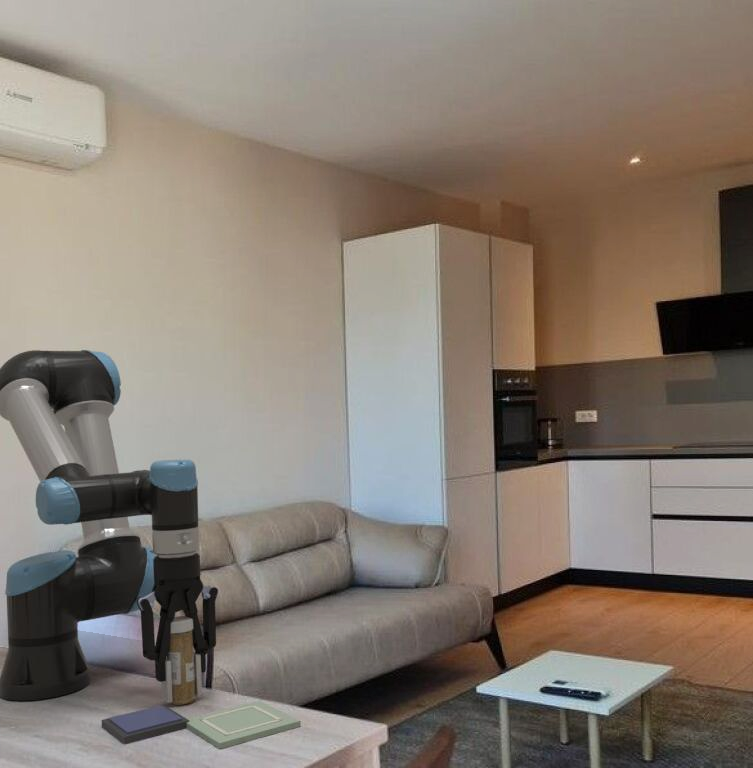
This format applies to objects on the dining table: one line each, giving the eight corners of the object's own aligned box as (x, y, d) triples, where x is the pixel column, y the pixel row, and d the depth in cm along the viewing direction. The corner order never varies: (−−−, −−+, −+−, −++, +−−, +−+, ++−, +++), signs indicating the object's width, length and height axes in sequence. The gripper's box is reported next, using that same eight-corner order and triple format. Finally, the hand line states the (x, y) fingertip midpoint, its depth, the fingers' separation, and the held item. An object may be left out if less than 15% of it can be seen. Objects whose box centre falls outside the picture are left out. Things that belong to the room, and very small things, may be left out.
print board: (182, 725, 132) (182, 719, 132) (259, 705, 140) (259, 699, 140) (219, 749, 122) (219, 742, 122) (300, 726, 129) (300, 719, 129)
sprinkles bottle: (200, 701, 143) (197, 618, 144) (173, 707, 141) (170, 623, 141) (189, 694, 147) (186, 613, 147) (163, 700, 144) (160, 618, 145)
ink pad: (101, 726, 134) (101, 717, 134) (164, 711, 140) (163, 702, 140) (124, 744, 126) (123, 735, 126) (189, 727, 131) (189, 718, 132)
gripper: (132, 563, 136) (138, 715, 136) (234, 549, 147) (240, 690, 146) (116, 558, 143) (121, 703, 142) (215, 545, 153) (220, 680, 152)
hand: (181, 696), depth 144 cm, fingers closed on sprinkles bottle, 4 cm apart
